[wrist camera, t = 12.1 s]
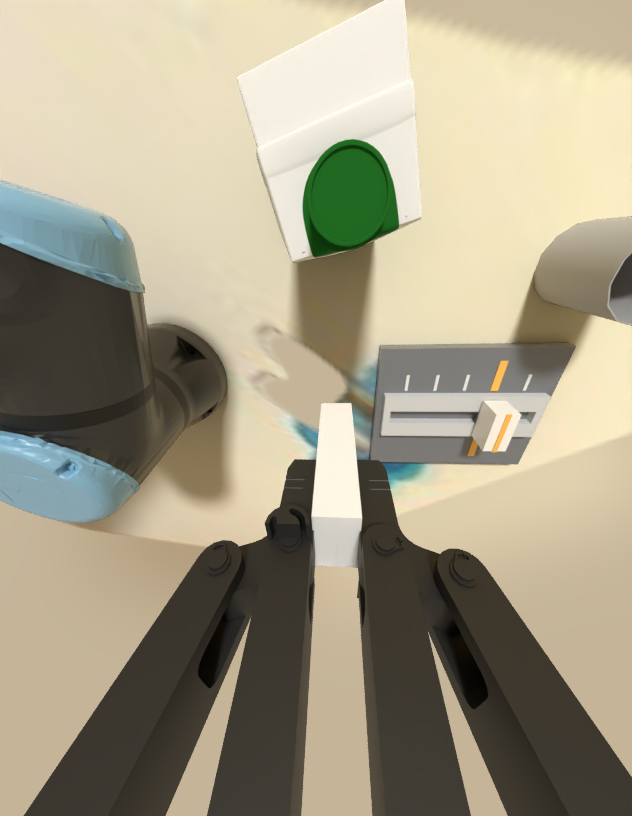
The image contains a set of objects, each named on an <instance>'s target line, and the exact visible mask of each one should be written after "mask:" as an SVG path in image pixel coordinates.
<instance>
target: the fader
mask: <svg viewBox="0 0 632 816" xmlns="http://www.w3.org/2000/svg"><path fill="white" fill-rule="evenodd" d="M476 418H477V421H476V424H475V427H474V430H473V433H472V437H473V438H474V440H475V441H476V443H477V444H478V445H479V447H480V448H481V450H482V451H491V452H497V451H506V449H507V447H508V445H509V442H510V440H511V438H512V436H513V433H514V431H515V429H516V427H517V424H518V422H519V420H520V418H521V414H520V413H519V412H518V411H517V410H516V409H515V408H514V407H513V406H512V405H511V404H509V403H508V402H507V401H483V404H482V407H481V409H480V412H477V415H476Z"/></svg>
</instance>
